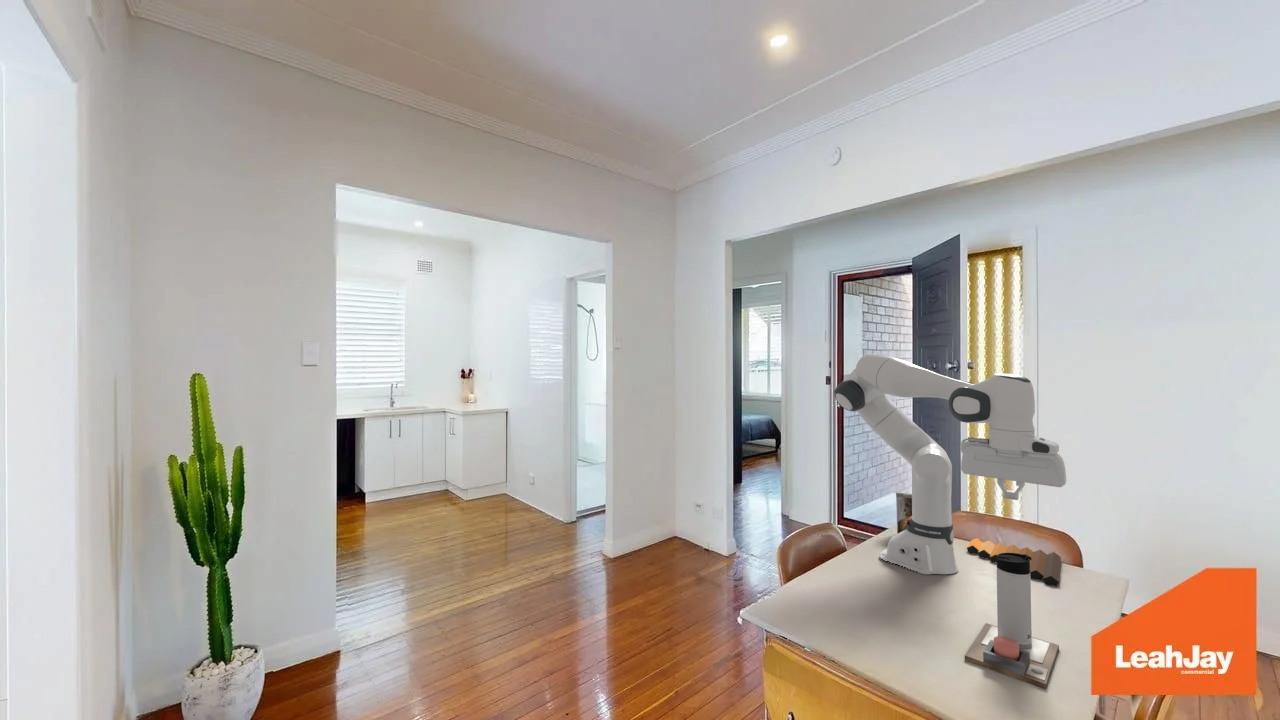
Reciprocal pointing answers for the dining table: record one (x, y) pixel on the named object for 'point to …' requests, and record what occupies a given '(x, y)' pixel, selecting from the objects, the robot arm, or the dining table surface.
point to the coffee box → (903, 510)
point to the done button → (1006, 647)
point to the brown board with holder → (1029, 668)
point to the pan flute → (1039, 560)
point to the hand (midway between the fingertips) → (1010, 498)
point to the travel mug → (1014, 598)
